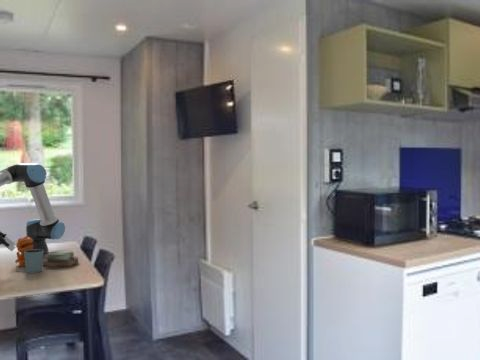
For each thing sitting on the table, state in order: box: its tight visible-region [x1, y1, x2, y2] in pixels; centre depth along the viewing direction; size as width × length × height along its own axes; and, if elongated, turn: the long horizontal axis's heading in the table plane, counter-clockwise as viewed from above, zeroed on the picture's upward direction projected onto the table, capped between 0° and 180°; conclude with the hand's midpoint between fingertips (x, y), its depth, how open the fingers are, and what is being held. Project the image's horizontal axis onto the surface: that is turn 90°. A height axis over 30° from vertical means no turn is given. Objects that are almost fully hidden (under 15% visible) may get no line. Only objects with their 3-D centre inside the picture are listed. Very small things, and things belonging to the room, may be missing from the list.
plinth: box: [42, 249, 79, 269], centre depth 274 cm, size 20×20×7 cm
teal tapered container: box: [24, 249, 44, 274], centre depth 257 cm, size 10×10×12 cm
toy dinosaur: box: [14, 235, 34, 267], centre depth 272 cm, size 11×11×18 cm
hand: (13, 247), depth 252 cm, fingers open, 13 cm apart
